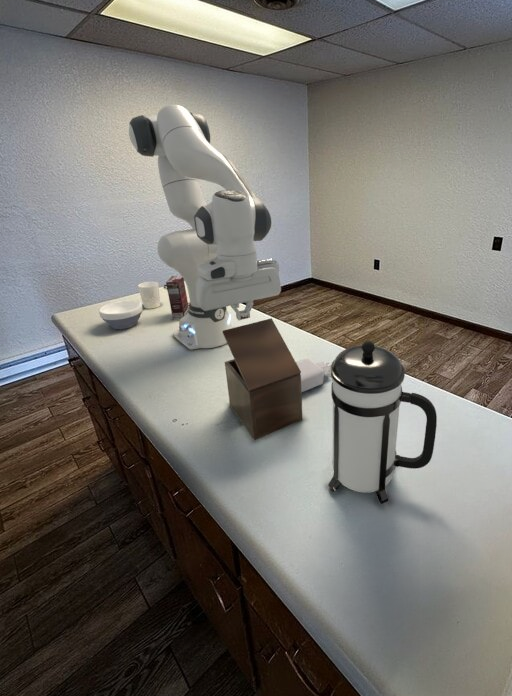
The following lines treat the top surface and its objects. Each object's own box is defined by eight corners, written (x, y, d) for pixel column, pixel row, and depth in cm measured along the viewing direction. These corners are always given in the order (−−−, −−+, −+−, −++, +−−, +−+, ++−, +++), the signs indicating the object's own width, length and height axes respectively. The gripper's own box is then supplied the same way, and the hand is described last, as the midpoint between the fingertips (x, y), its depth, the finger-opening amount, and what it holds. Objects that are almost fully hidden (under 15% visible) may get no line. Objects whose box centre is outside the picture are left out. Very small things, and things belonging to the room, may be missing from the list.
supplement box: (177, 311, 152) (171, 275, 146) (189, 311, 152) (184, 275, 146) (172, 320, 144) (165, 282, 138) (184, 319, 144) (178, 281, 138)
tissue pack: (340, 378, 104) (296, 396, 96) (321, 364, 111) (279, 381, 103) (340, 364, 102) (295, 381, 94) (321, 351, 109) (278, 366, 101)
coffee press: (348, 526, 62) (352, 377, 51) (314, 460, 75) (311, 331, 64) (430, 491, 68) (449, 352, 57) (384, 437, 82) (393, 316, 71)
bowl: (133, 314, 149) (129, 297, 146) (152, 322, 141) (149, 304, 139) (96, 326, 138) (91, 308, 136) (115, 336, 130) (110, 317, 128)
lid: (222, 332, 84) (222, 330, 84) (271, 320, 91) (271, 318, 90) (249, 392, 76) (249, 390, 76) (300, 373, 83) (301, 372, 82)
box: (229, 404, 93) (224, 361, 88) (273, 388, 100) (270, 347, 95) (254, 440, 81) (249, 393, 76) (302, 419, 88) (300, 374, 83)
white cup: (138, 308, 155) (133, 286, 151) (149, 302, 162) (145, 281, 159) (155, 309, 154) (150, 287, 150) (165, 303, 161) (161, 281, 157)
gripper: (272, 255, 91) (275, 305, 97) (190, 267, 81) (198, 323, 86) (284, 260, 87) (286, 313, 92) (198, 274, 76) (206, 333, 81)
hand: (243, 318), depth 89 cm, fingers closed
